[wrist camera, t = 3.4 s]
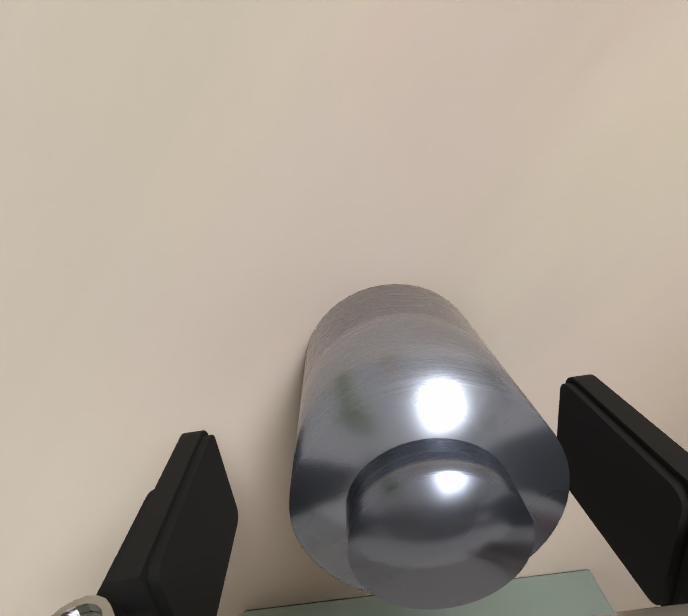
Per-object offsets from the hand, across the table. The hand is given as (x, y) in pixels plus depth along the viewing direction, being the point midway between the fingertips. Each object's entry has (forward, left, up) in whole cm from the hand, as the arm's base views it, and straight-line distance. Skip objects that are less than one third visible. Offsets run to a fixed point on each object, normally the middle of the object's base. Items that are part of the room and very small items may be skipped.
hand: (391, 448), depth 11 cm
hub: (-1, 0, -4) cm, 4 cm away
